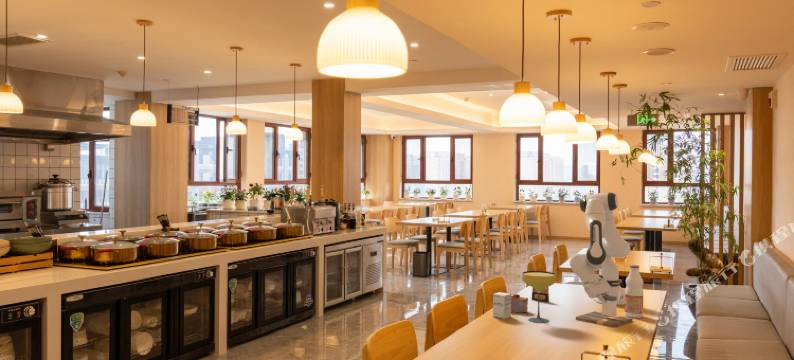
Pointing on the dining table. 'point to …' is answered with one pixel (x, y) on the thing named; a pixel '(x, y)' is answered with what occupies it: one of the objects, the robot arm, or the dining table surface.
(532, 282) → the cocktail glass
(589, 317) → the board
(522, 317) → the dining table surface
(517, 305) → the food item
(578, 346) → the dining table surface
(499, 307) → the supplement box
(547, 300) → the thin brown box
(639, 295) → the fruit juice
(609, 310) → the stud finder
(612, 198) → the robot arm
